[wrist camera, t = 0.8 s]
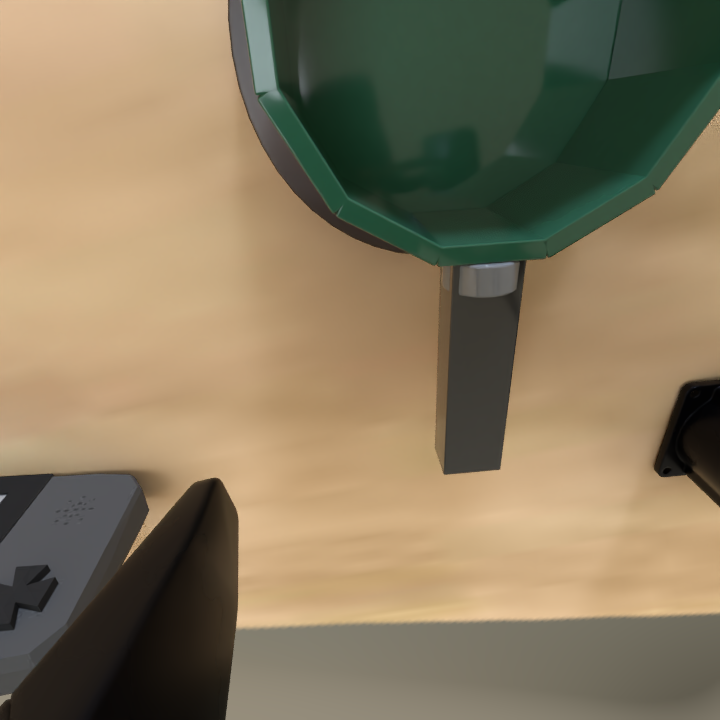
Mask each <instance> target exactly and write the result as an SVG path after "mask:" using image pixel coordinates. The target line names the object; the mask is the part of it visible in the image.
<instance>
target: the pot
mask: <svg viewBox="0 0 720 720" xmlns="http://www.w3.org/2000/svg"><path fill="white" fill-rule="evenodd" d="M241 5H242V12H243V19H244V26H245V32H246V39H247V46H248V53H249V60H250V66H251V73H252V80H253V87H254V93H255V95H257V96H259V97H258V99H257V100H258V103H259V104H260V106H261V107H262V109H263V110H264V112H265V113H266V115H267V116H268V118H269V119H270V121H271V122H272V124H273V125H274V127H275V128H276V130H277V131H278V133H279V134H280V136H281V137H282V139H283V140H284V142H285V143H286V145H287V146H288V148H289V149H290V151H291V152H292V154H293V155H294V157H295V158H296V160H297V161H298V163H299V164H300V166H301V167H302V169H303V170H304V172H305V173H306V175H307V176H308V178H309V179H310V181H311V182H312V184H313V185H314V187H315V188H316V190H317V191H318V193H319V194H320V196H321V197H322V199H323V200H324V202H325V203H326V205H327V206H328V208H329V209H330V211H331V212H332V213H336V216H337V218H339V219H341V220H343V221H345V222H347V223H349V224H351V225H353V226H355V227H357V228H359V229H361V230H363V231H365V232H367V233H369V234H371V235H373V236H375V237H377V238H379V239H381V240H383V241H385V242H387V243H389V244H391V245H393V246H395V247H397V248H399V249H401V250H403V251H405V252H407V253H409V254H411V255H413V256H415V257H417V258H419V259H421V260H423V261H425V262H427V263H429V264H431V265H434V266H435V265H436V264H437V266H438V267H441V269H440V301H439V333H438V366H437V398H436V430H435V450H436V453H437V456H438V459H439V462H440V465H441V468H442V471H443V473H444V474H445V475H446V474H457V473H468V472H479V471H490V470H499V469H500V466H501V458H502V450H503V442H504V434H505V426H506V418H507V410H508V402H509V394H510V386H511V378H512V370H513V362H514V354H515V346H516V338H517V330H518V322H519V314H520V306H521V298H522V290H523V282H524V274H525V266H526V260H537V259H545V258H546V256H547V257H551V256H553V255H555V254H556V253H558V252H560V251H561V250H563V249H565V248H566V247H568V246H570V245H571V244H573V243H574V242H576V241H578V240H579V239H581V238H583V237H584V236H586V235H588V234H589V233H591V232H593V231H594V230H596V229H598V228H599V227H601V226H603V225H604V224H606V223H608V222H609V221H611V220H613V219H614V218H616V217H618V216H619V215H621V214H622V213H624V212H626V211H627V210H629V209H631V208H632V207H634V206H636V205H637V204H639V203H641V202H642V201H644V200H646V199H647V198H649V197H651V196H652V195H654V194H655V190H659V189H660V188H661V186H662V185H663V184H664V182H665V181H666V180H667V178H668V177H669V176H670V174H671V173H672V172H673V170H674V169H675V168H676V166H677V165H678V164H679V162H680V161H681V160H682V158H683V157H684V156H685V154H686V153H687V152H688V150H689V149H690V148H691V146H692V145H693V144H694V142H695V141H696V140H697V138H698V137H699V136H700V134H701V133H702V132H703V130H704V129H705V128H706V126H707V125H708V124H709V123H710V121H711V120H712V119H713V117H714V116H715V115H716V113H717V112H718V111H719V109H720V0H241Z"/></svg>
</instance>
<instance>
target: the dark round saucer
mask: <svg viewBox="0 0 720 720" xmlns="http://www.w3.org/2000/svg"><path fill="white" fill-rule="evenodd" d="M228 22H229V31H230V40H231V50H232V57H233V62H234V66H235V71H236V75H237V80H238V85H239V89H240V92H241V95H242V98H243V101H244V104H245V107H246V110H247V113H248V116H249V119H250V121H251V123H252V125H253V127H254V130H255V132H256V134H257V136H258V138H259V140H260V142H261V145H262V147H263V148H264V150H265V152H266V153H267V155H268V157H269V158H270V160H271V161H272V163H273V165H274V166H275V168H276V170H277V171H278V172H279V174H280V175H281V176H282V178H283V179H284V180H285V181H286V183H287V184H288V185H289V186H290V188H291V189H292V190H293V192H294V193H295V194H296V195H297V196H298V197H299V198H300V199H301V200H302V201H303V202H304V203H305V204H306V205H307V206H308V207H309V208H310V209H311V210H312V211H314V212H315V213H316V214H318V215H319V216H320V217H321V218H323V219H324V220H325V221H327V222H328V223H329V224H331V225H332V226H333V227H335V228H337V229H339V230H340V231H342V232H344V233H346V234H347V235H349V236H351V237H352V238H355V239H357V240H360V241H362V242H364V243H367V244H369V245H372V246H374V247H378V248H381V249H385V250H389V251H393V252H397V253H405V254H409V253H407V252H405V251H403V250H401V249H399V248H397V247H395V246H393V245H391V244H389V243H387V242H385V241H383V240H381V239H379V238H377V237H375V236H373V235H371V234H369V233H367V232H365V231H363V230H361V229H359V228H357V227H355V226H353V225H351V224H349V223H347V222H345V221H343V220H341V219H339V218H337V216H336V213H332V212H331V211H330V209H329V208H328V206H327V205H326V203H325V202H324V200H323V199H322V197H321V196H320V194H319V193H318V191H317V190H316V188H315V187H314V185H313V184H312V182H311V181H310V179H309V178H308V176H307V175H306V173H305V172H304V170H303V169H302V167H301V166H300V164H299V163H298V161H297V160H296V158H295V157H294V155H293V154H292V152H291V151H290V149H289V148H288V146H287V145H286V143H285V142H284V140H283V139H282V137H281V136H280V134H279V133H278V131H277V130H276V128H275V127H274V125H273V124H272V122H271V121H270V119H269V118H268V116H267V115H266V113H265V112H264V110H263V109H262V107H261V106H260V104H259V103H258V100H257V99H258V97H259V96H257V95H255V93H254V87H253V80H252V73H251V66H250V60H249V53H248V46H247V39H246V32H245V26H244V19H243V12H242V5H241V0H228Z"/></svg>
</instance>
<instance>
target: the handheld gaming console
mask: <svg viewBox="0 0 720 720" xmlns="http://www.w3.org/2000/svg"><path fill="white" fill-rule="evenodd" d="M148 512H149V508H148V505H147V502H146V499H145V496H144V493H143V490H142V488H141V487H140V485H139V484H138V482H137V481H136V479H135V477H134V476H132V475H125V474H88V475H71V476H54V475H53V474H42V475H25V476H7V477H0V696H1V695H6V694H11V693H13V691H14V690H15V689H16V688H17V687H18V686H19V684H20V683H21V682H22V681H23V680H24V679H25V678H26V676H27V675H28V674H29V673H30V672H31V671H32V669H33V668H34V667H35V666H36V665H37V664H38V662H39V661H40V660H41V659H42V658H43V657H44V656H45V654H46V653H47V652H48V651H49V650H50V649H51V647H52V646H53V645H54V644H55V643H56V642H57V640H58V639H59V638H60V637H61V636H62V635H63V634H64V632H65V631H66V630H67V629H68V628H69V627H70V625H71V624H72V623H73V622H74V621H75V620H76V618H77V617H78V616H79V615H80V614H81V613H82V612H83V610H84V609H85V608H86V607H87V606H88V605H89V603H90V602H91V601H92V600H93V599H94V598H95V596H96V595H97V594H98V593H99V592H100V591H101V590H102V588H103V587H104V586H105V585H106V584H107V583H108V581H109V580H110V579H111V578H112V577H113V576H114V574H115V573H116V572H117V571H118V570H119V569H120V568H121V566H122V564H123V562H124V560H125V559H126V557H127V555H128V553H129V551H130V549H131V547H132V545H133V543H134V541H135V539H136V537H137V535H138V533H139V531H140V529H141V527H142V525H143V523H144V520H145V518H146V516H147V514H148Z"/></svg>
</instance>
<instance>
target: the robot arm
mask: <svg viewBox="0 0 720 720" xmlns="http://www.w3.org/2000/svg"><path fill="white" fill-rule="evenodd" d="M691 392H692V393H691ZM654 470H655V471H656V472H657V473H658V474H659V476H661V477H670V476H681V475H687V476H688V477H689V478H690V479H691V480H692V481H693V482H694V483H695V484H696V485H697V486H698V487H699V488H701V489H702V490H703V491H704V492H705V493H706V494H707V495H708V496H709V497H710V498H711V499H712V500H713V501H714V502H715V503H716V504H717V505H718V506H719V507H720V380H713V381H701V382H691V383H688V384H686V385H685V386H684V387H683V388H682V389H681V391H680V394H679V397H678V400H677V403H676V406H675V409H674V412H673V415H672V418H671V421H670V423H669V426H668V429H667V432H666V435H665V438H664V441H663V444H662V447H661V450H660V452H659V455H658V458H657V461H656V464H655V467H654ZM237 610H238V514H237V511H236V508H235V506H234V504H233V502H232V500H231V498H230V496H229V494H228V492H227V490H226V488H225V487H224V485H223V483H222V481H221V480H220V479H218V478H210V479H206V480H202V481H198V482H195V483H194V484H192V485H191V486H190V488H189V489H188V490H187V491H186V492H185V493H184V495H183V496H182V497H181V498H180V499H179V500H178V501H177V503H176V504H175V505H174V506H173V507H172V508H171V510H170V511H169V512H168V513H167V514H166V515H165V517H164V518H163V519H162V520H161V521H160V522H159V523H158V525H157V526H156V527H155V528H154V529H153V530H152V532H151V533H150V534H149V535H148V536H147V537H146V539H145V540H144V541H143V542H142V543H141V544H140V546H139V547H138V548H137V549H136V550H135V551H134V552H133V554H132V555H131V556H130V557H129V558H128V559H127V561H126V562H125V563H124V564H123V565H122V566H121V568H120V569H119V570H118V571H117V572H116V573H115V574H114V576H113V577H112V578H111V579H110V580H109V581H108V583H107V584H106V585H105V586H104V587H103V588H102V590H101V591H100V592H99V593H98V594H97V595H96V596H95V598H94V599H93V600H92V601H91V602H90V603H89V605H88V606H87V607H86V608H85V609H84V610H83V612H82V613H81V614H80V615H79V616H78V617H77V618H76V620H75V621H74V622H73V623H72V624H71V625H70V627H69V628H68V629H67V630H66V631H65V632H64V634H63V635H62V636H61V637H60V638H59V639H58V640H57V642H56V643H55V644H54V645H53V646H52V647H51V649H50V650H49V651H48V652H47V653H46V654H45V656H44V657H43V658H42V659H41V660H40V661H39V662H38V664H37V665H36V666H35V667H34V668H33V669H32V671H31V672H30V673H29V674H28V675H27V676H26V678H25V679H24V680H23V681H22V682H21V683H20V684H19V686H18V687H17V688H16V689H15V690H14V691H13V693H12V695H11V699H8V700H6V701H5V702H4V703H3V704H2V705H1V706H0V720H225V717H226V709H227V700H228V692H229V683H230V674H231V666H232V657H233V648H234V639H235V631H236V621H237Z"/></svg>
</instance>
